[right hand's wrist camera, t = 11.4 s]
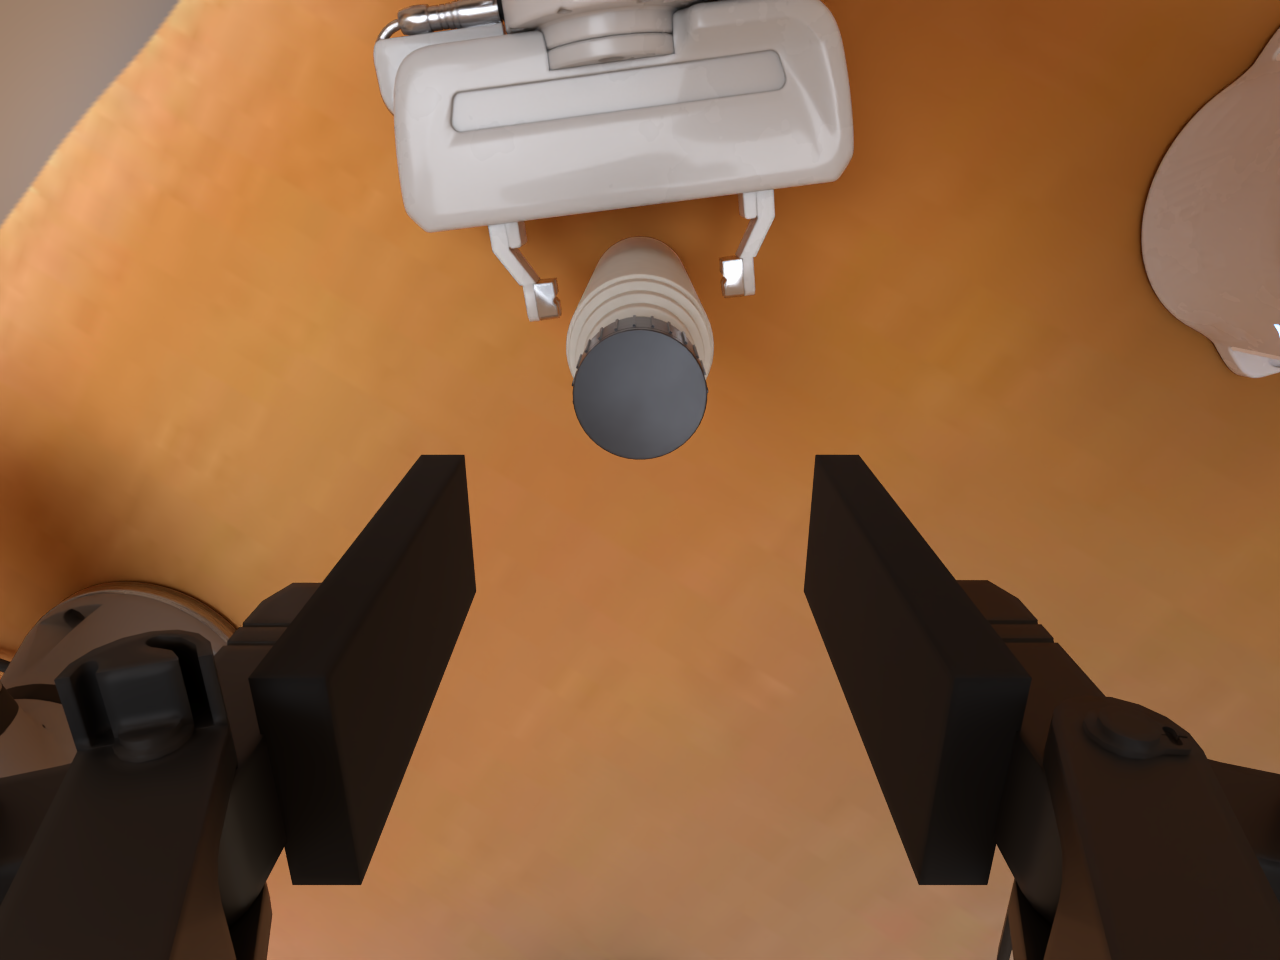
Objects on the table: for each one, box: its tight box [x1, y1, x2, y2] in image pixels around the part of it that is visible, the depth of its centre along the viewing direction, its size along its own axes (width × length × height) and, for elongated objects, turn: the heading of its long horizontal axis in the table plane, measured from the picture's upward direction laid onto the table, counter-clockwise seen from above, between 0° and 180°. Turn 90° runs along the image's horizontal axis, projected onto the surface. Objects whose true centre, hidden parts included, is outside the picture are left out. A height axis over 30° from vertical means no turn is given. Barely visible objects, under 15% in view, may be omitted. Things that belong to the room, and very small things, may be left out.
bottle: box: [566, 237, 714, 380], centre depth 34 cm, size 5×5×23 cm
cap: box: [572, 315, 708, 459], centre depth 23 cm, size 4×4×2 cm
